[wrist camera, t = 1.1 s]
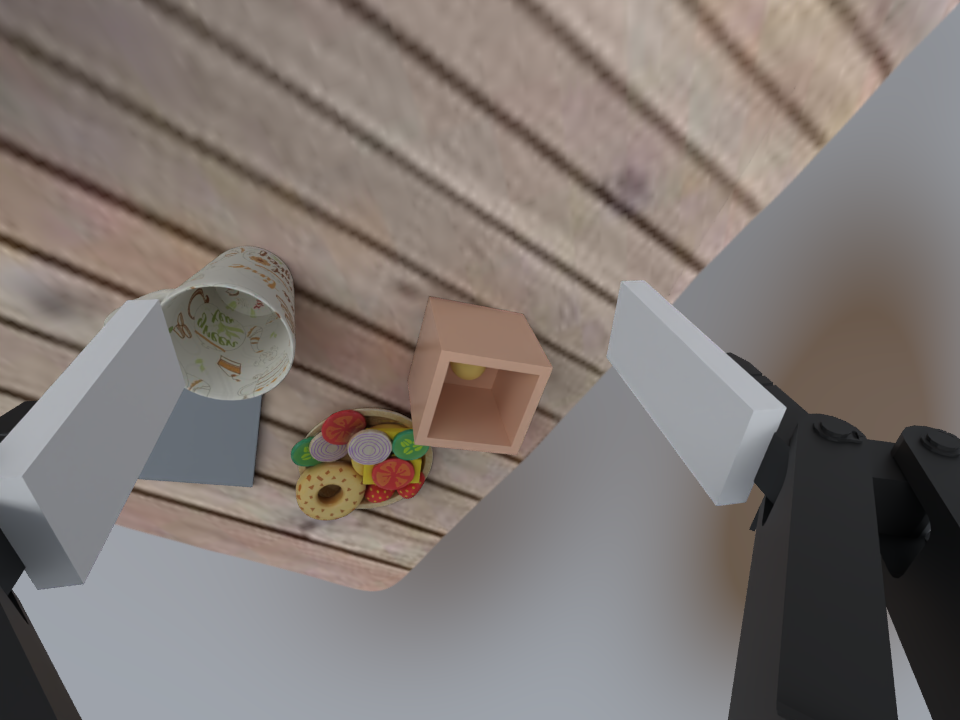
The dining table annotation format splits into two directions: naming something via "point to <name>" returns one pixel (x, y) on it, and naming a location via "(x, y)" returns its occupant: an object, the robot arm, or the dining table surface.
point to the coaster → (207, 442)
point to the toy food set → (359, 463)
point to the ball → (467, 370)
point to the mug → (232, 324)
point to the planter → (487, 399)
